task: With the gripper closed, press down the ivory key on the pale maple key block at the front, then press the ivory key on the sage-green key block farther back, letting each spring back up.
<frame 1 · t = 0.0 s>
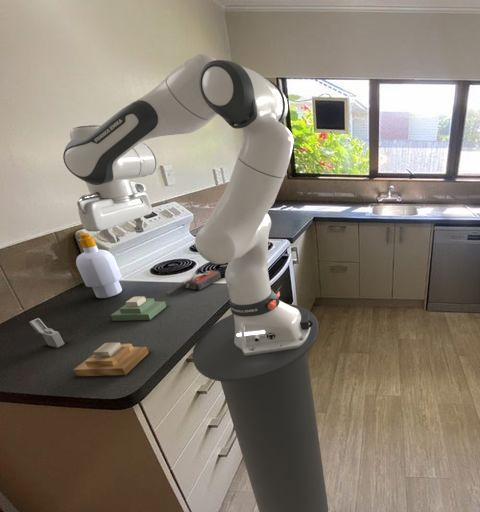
hand: (128, 236, 85), 28 cm above the countertop, tool pointing down, fingers open, 8 cm apart
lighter: (53, 344, 84), on the countertop
far key: (136, 301, 96), point 5 cm above the countertop, slide at 0.1 cm
near key: (108, 350, 74), point 5 cm above the countertop, slide at 0.1 cm
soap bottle: (110, 294, 110), on the countertop
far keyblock: (140, 313, 98), on the countertop
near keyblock: (114, 364, 76), on the countertop
walkie-talkie: (196, 286, 115), on the countertop
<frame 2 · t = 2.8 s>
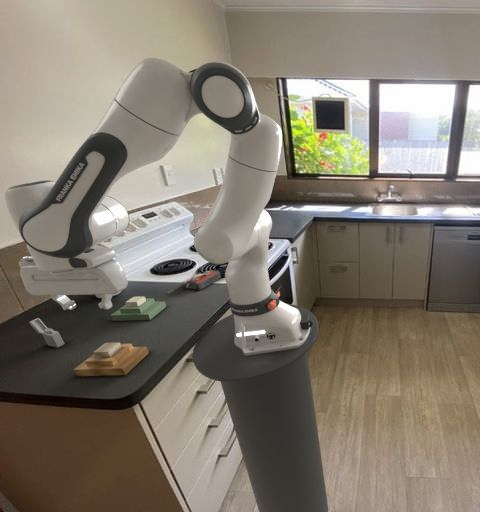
hand: (88, 308, 69), 17 cm above the countertop, tool pointing down, fingers open, 7 cm apart
nothing on the countertop moved.
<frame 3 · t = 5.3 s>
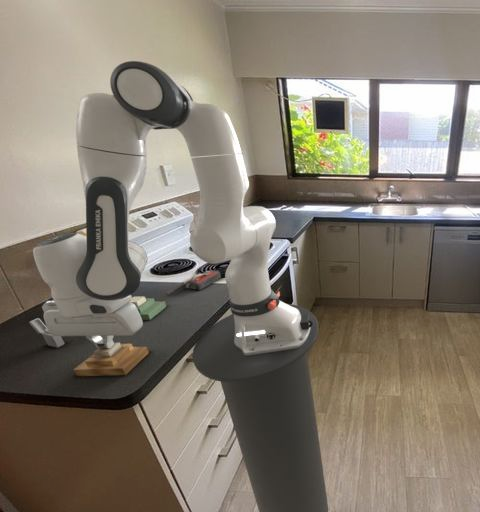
hand: (106, 346, 74), 6 cm above the countertop, tool pointing down, fingers closed, pressing on near key
near key: (108, 350, 74), point 5 cm above the countertop, slide at 0.0 cm, touching gripper
everything else where it was.
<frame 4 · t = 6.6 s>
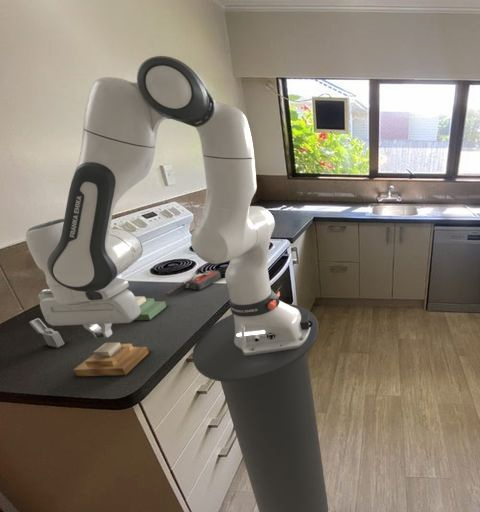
hand: (104, 336, 73), 9 cm above the countertop, tool pointing down, fingers closed
near key: (108, 350, 74), point 5 cm above the countertop, slide at 0.1 cm
everything else where it was.
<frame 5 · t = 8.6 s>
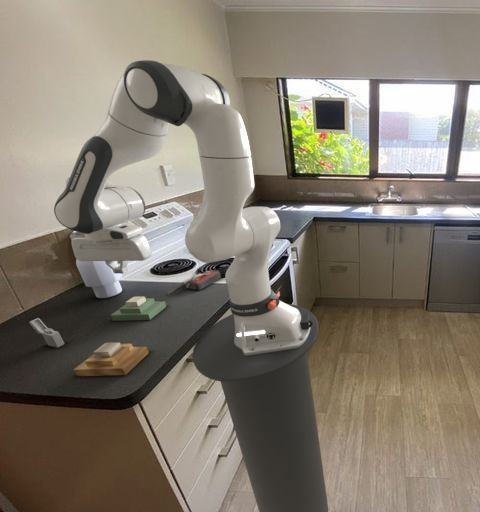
hand: (121, 272, 90), 16 cm above the countertop, tool pointing down, fingers closed
nothing on the countertop moved.
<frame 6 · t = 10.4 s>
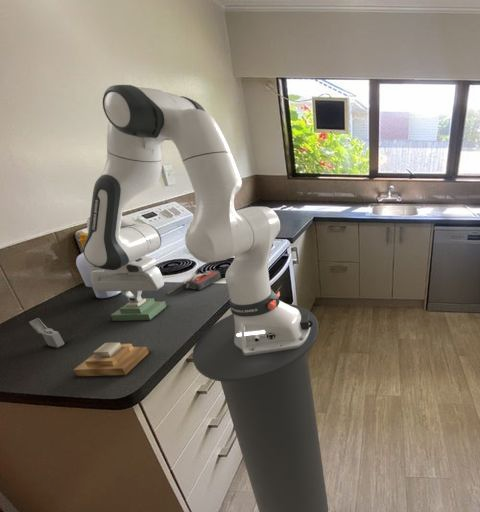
hand: (135, 301, 96), 5 cm above the countertop, tool pointing down, fingers closed, pressing on far key
far key: (137, 303, 96), point 4 cm above the countertop, slide at -0.8 cm, touching gripper
everything else where it was.
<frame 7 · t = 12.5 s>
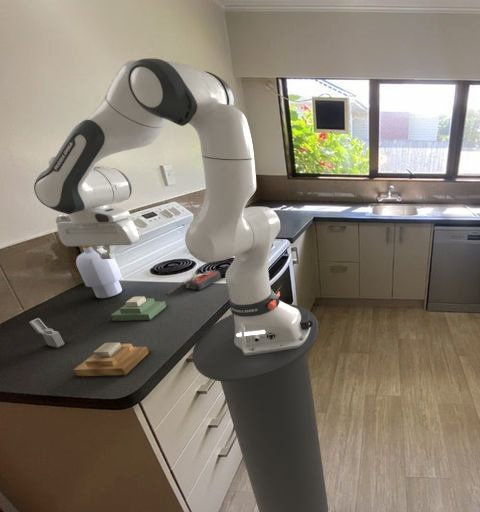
hand: (108, 258, 88), 21 cm above the countertop, tool pointing down, fingers closed
far key: (136, 301, 96), point 5 cm above the countertop, slide at 0.1 cm
everything else where it was.
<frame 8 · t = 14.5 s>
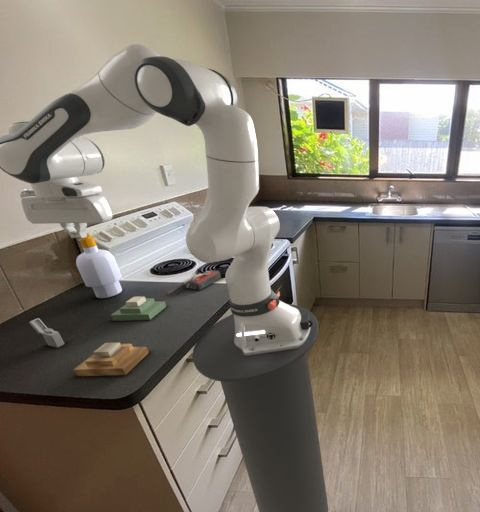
hand: (79, 237, 82), 29 cm above the countertop, tool pointing down, fingers closed
nothing on the countertop moved.
at the end: near key pushed in 1.1 cm at the most during the clip, back to where it started at the end; far key pushed in 1.1 cm at the most during the clip, back to where it started at the end; far key slide at 0.1 cm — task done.
